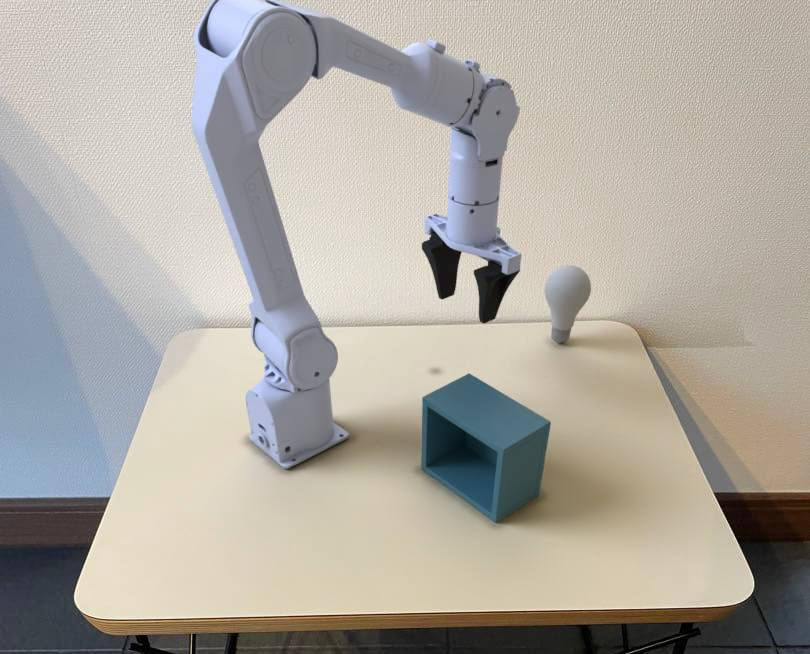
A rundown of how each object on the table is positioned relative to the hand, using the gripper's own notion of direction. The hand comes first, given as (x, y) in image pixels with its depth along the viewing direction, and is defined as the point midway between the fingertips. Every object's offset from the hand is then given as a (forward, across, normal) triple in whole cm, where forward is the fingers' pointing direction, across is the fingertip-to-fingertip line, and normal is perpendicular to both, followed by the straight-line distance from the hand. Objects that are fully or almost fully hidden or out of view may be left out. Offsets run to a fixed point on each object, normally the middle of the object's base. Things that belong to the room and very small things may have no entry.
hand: (466, 308), depth 95 cm
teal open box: (+10, -17, +13) cm, 24 cm away
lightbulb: (+10, -2, -17) cm, 20 cm away
